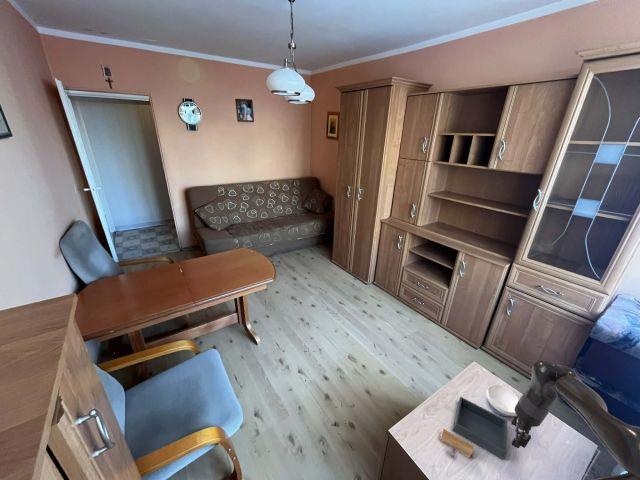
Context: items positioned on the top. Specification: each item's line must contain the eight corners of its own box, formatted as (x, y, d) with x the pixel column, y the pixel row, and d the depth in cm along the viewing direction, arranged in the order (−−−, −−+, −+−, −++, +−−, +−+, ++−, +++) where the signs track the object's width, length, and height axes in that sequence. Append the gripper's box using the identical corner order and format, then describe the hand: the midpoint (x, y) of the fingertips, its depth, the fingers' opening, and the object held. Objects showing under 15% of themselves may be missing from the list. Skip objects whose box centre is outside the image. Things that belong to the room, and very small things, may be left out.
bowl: (485, 387, 141) (490, 378, 138) (517, 406, 133) (523, 397, 129) (479, 407, 131) (484, 398, 128) (513, 429, 123) (519, 419, 119)
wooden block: (468, 468, 108) (471, 461, 106) (437, 449, 114) (440, 442, 112) (469, 452, 113) (473, 446, 111) (440, 434, 119) (443, 428, 117)
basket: (501, 460, 111) (506, 453, 109) (452, 431, 121) (455, 424, 118) (502, 427, 123) (506, 420, 121) (457, 403, 132) (460, 396, 130)
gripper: (548, 433, 82) (528, 461, 89) (543, 396, 93) (525, 424, 100) (520, 419, 85) (502, 446, 93) (518, 385, 96) (502, 412, 103)
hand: (514, 434), depth 96 cm, fingers open, 8 cm apart
